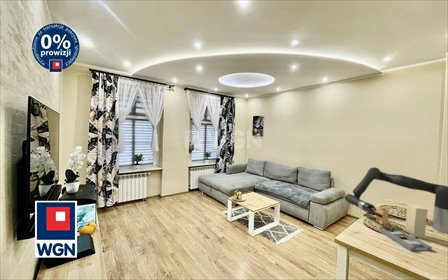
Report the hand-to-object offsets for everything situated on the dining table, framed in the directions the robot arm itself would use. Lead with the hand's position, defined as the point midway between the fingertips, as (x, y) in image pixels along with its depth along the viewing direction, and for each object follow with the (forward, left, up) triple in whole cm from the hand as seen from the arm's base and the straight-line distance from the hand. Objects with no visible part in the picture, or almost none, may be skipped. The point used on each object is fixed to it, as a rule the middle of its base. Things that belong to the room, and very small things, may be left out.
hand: (385, 216), depth 136 cm
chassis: (+11, +9, -10) cm, 17 cm away
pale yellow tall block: (-4, +17, -10) cm, 20 cm away
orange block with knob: (-2, -2, -6) cm, 7 cm away
